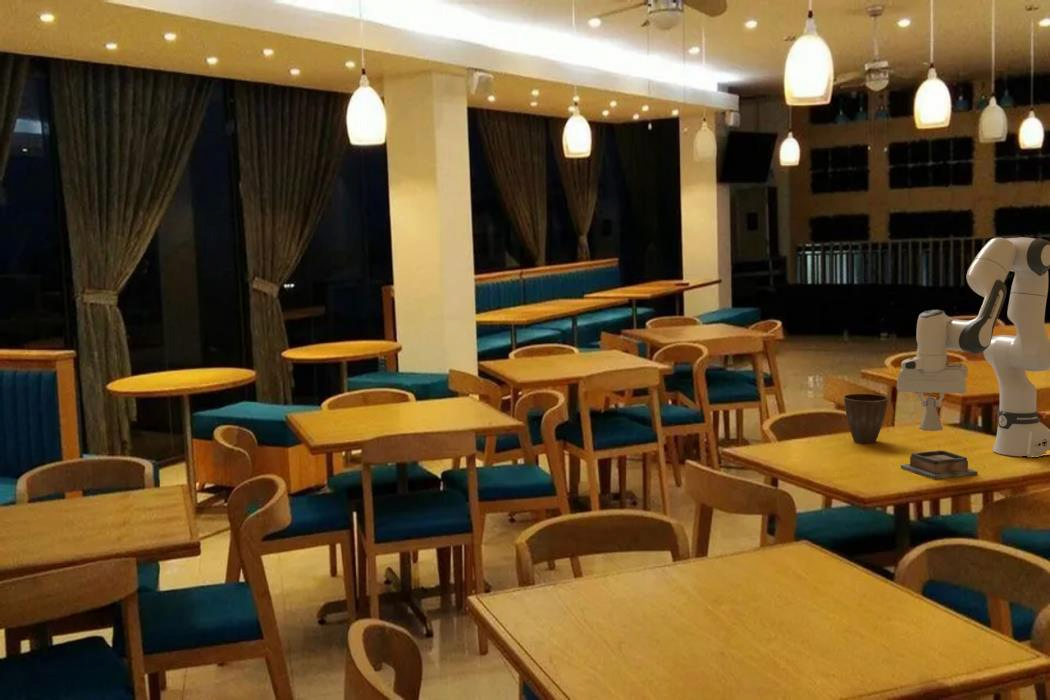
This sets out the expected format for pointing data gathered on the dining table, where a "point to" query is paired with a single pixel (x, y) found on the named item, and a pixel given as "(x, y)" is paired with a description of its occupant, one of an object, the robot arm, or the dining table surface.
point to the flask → (931, 417)
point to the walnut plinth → (939, 465)
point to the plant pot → (865, 416)
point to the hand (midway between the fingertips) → (931, 406)
